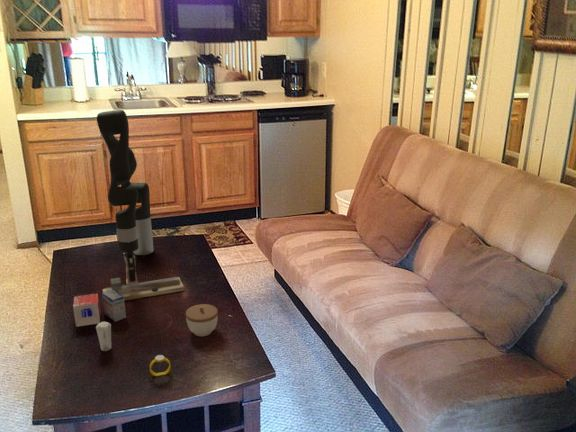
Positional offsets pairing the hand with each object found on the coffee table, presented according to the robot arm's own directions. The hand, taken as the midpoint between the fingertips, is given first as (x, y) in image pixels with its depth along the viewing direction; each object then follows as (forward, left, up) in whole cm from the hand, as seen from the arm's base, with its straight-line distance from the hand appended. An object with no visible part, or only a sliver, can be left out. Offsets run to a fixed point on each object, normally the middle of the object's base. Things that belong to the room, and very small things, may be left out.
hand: (131, 276), depth 201 cm
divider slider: (0, 0, -5) cm, 5 cm away
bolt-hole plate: (0, +4, -7) cm, 8 cm away
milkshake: (+37, -12, -7) cm, 40 cm away
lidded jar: (+38, +19, -7) cm, 43 cm away
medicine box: (+16, -8, -7) cm, 19 cm away
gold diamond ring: (+57, +2, -7) cm, 58 cm away
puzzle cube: (+15, -17, -8) cm, 24 cm away
